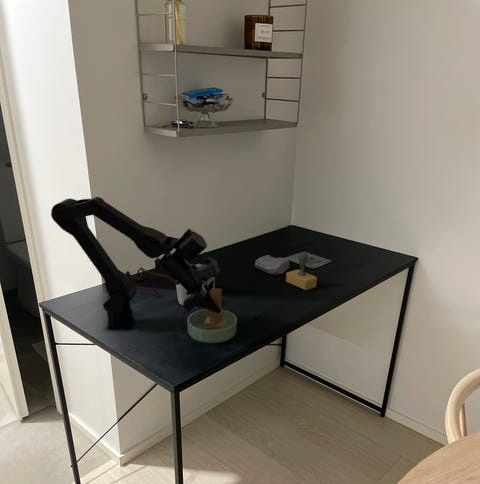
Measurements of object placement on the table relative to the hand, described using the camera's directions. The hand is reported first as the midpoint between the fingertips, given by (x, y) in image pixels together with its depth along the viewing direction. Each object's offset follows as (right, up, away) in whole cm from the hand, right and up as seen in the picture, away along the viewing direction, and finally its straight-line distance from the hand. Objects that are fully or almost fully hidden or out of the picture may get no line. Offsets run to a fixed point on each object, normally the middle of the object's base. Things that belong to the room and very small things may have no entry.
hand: (220, 309), depth 138 cm
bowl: (-3, -6, +3) cm, 8 cm away
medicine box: (-7, +7, +29) cm, 31 cm away
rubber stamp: (+27, +10, +37) cm, 47 cm away
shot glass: (-12, +3, +22) cm, 25 cm away
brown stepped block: (-2, -6, +3) cm, 7 cm away
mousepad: (+38, +20, +58) cm, 72 cm away
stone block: (+17, +16, +50) cm, 55 cm away
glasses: (-26, +8, +32) cm, 41 cm away
